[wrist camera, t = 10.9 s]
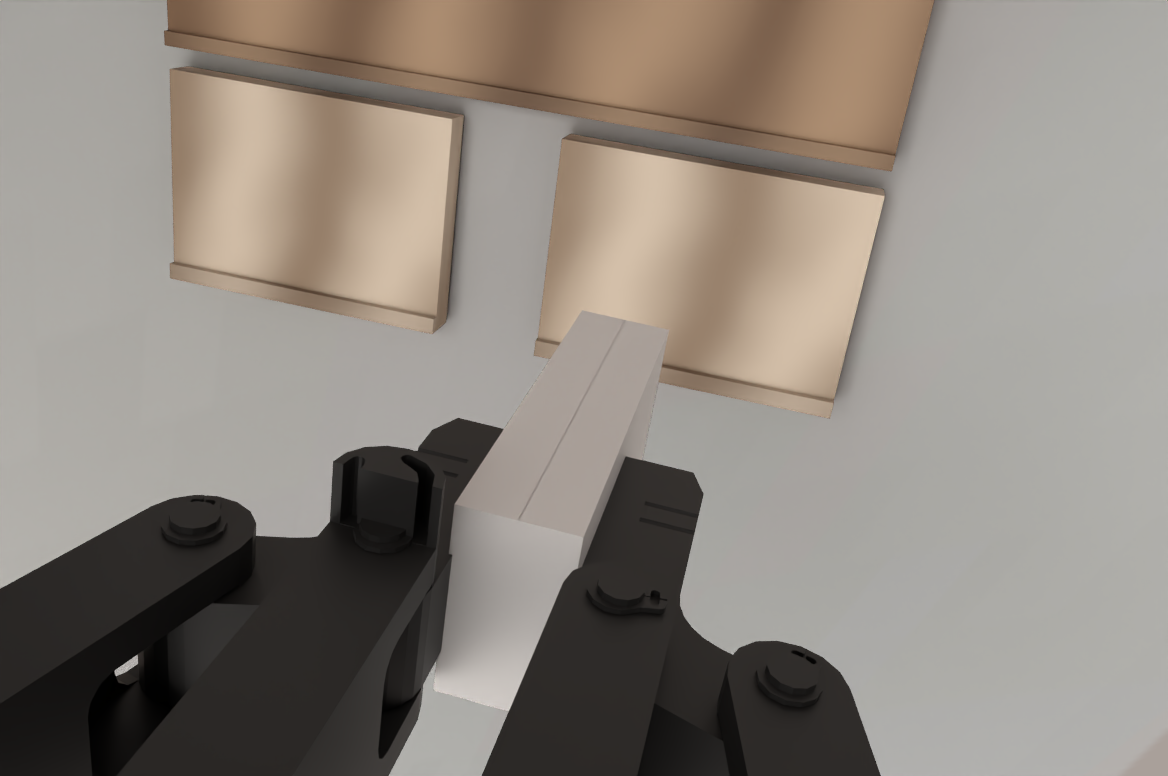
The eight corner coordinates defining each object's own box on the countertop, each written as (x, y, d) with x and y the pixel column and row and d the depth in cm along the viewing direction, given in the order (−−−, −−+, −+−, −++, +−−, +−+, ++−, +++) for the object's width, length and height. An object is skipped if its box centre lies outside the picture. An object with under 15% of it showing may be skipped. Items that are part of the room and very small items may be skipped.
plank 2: (544, 342, 40) (533, 355, 39) (570, 133, 37) (560, 140, 36) (830, 402, 38) (830, 418, 37) (883, 189, 35) (885, 197, 34)
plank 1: (191, 268, 43) (170, 278, 41) (188, 66, 39) (165, 69, 38) (446, 322, 41) (432, 334, 39) (463, 114, 38) (449, 120, 36)
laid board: (189, 41, 39) (164, 45, 38) (183, -136, 37) (157, -140, 35) (890, 162, 35) (891, 171, 34) (938, -29, 32) (942, -28, 31)
